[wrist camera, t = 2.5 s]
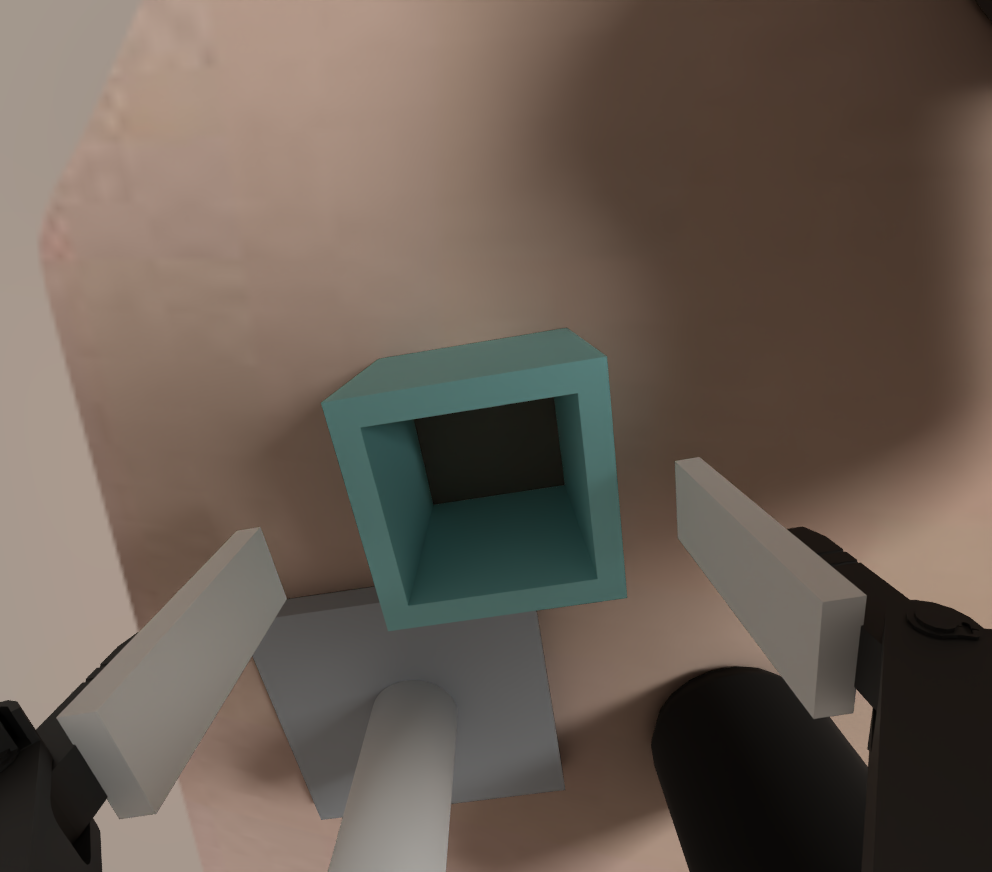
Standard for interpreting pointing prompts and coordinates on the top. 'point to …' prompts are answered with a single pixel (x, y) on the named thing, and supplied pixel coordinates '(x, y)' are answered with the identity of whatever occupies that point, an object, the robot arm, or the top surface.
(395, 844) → the grey square base plate
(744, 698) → the coffee jar
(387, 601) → the teal storage bin
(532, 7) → the top surface
